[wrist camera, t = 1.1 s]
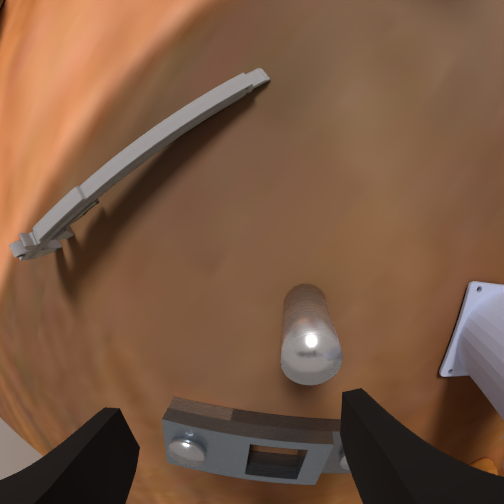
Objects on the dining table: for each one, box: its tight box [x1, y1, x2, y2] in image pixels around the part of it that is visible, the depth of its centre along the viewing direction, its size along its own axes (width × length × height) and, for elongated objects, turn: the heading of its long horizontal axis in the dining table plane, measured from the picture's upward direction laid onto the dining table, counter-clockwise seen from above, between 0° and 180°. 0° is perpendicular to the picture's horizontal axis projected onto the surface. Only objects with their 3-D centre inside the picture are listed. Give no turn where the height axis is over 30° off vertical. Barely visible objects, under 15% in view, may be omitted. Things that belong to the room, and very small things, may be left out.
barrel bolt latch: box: [162, 397, 351, 485], centre depth 21 cm, size 18×6×4 cm, turn 84°
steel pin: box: [281, 284, 342, 385], centre depth 16 cm, size 3×3×7 cm
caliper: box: [9, 68, 270, 261], centre depth 16 cm, size 20×1×6 cm, turn 124°
